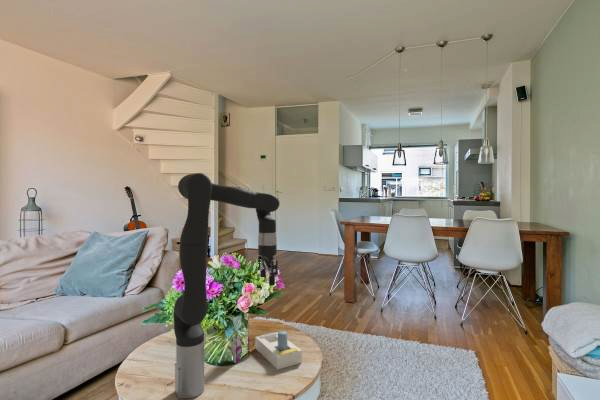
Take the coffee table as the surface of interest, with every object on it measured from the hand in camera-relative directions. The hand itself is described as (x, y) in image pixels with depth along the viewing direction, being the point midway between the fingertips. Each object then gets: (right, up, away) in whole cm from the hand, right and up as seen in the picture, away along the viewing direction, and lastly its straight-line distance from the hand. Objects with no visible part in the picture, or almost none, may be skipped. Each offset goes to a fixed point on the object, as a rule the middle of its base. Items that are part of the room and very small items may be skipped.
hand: (267, 283), depth 138 cm
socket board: (+4, -32, +6) cm, 33 cm away
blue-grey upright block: (+6, -31, +1) cm, 32 cm away
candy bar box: (-13, -32, +4) cm, 35 cm away
